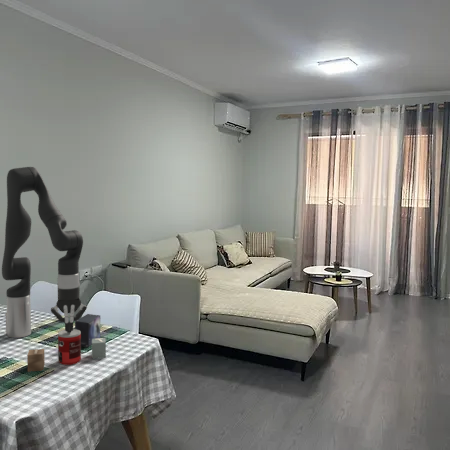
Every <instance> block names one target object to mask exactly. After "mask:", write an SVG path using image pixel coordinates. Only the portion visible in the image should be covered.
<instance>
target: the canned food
mask: <svg viewBox="0 0 450 450" xmlns="http://www.w3.org/2000/svg"><path fill="white" fill-rule="evenodd" d="M57 346H58V347H57V348H58V350H57V353H58V355H57V356H58V357H57V358H58V362H59V364H61V365H65V366H72V365H76V364H79V363H80V362H81V360H82V359H81V358H82V347H81V331H80V330H77V329H75V328H73V331H71V333H67V331H65V329H63V330H60V331H59V332H58V333H57Z"/></svg>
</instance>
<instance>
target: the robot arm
mask: <svg viewBox="0 0 450 450" xmlns="http://www.w3.org/2000/svg"><path fill="white" fill-rule="evenodd" d="M27 192H34V193H36V195H37V197H38V205H37V208H38V209H37V210H38V211H37V212H38V215H39V219H40V220H41V221H42V224H43V225H44V226H45V227H46V229H47V231H48V234H49V238H50V241H51V244H52V246H53V248H54V249H55V250H56V251H59V252H66V254H65V255H64V256H62V257H60V258H59V259H58V263H57V272H58V273H57V302H56V304H55V306H53V307H50V312H51V313H52V314H53V315H54V316H55V318H57V320H58V321H59V322H61V323H64V330H65V331H67V333H71V331H73V329H74V323H75V321H77V320H78V319H80V318H81V317H83V316H82V315H83V314H84V313H85V312H86V311H87V308H88V306H87V305H86V304H83V303H82V300H81V298H80V297H81V296H80V295H81V294H80V284H81V283H80V272H79V262H80V258H81V256H82V255H81V254H82V250H83V245H84V239H83V238H84V237H83V235H82V233H81V232H80V231H78V230H75V229H74V230H66V231H64V229H65V228H66V227H67V219H66V218H65V216H63V214H62V213H61V210H60V209H58V207H57V205H56V204H55V202H54V199H53V198H52V195H51V194H50V191H49V190H48V187H47V185H46V183H45V181H44V179H43V176H42V175H41V173H40V171H39V170H38V169H37V168H36V167H34V166H25V167H24V166H23V167H15V168H11V169H9V170H8V172H7V175H6V197H7V202H6V203H7V205H6V220H5V229H4V230H5V233H4V235H5V236H4V238H5V239H4V250H3V257H2V264H1V275H2V279H3V280H5V281H18V280H20V281H19V282H18V283H16V284H15V285H13V286H10V287H9V288H7V289H6V293H5V294H6V313H5V314H4V315H5V335H6V336H7V337H8V338H11V339H12V338H13V339H14V338H15V339H17V338H18V339H19V338H24V337H28V336H30V335H31V334H32V319H31V318H32V315H31V314H32V312H31V311H32V310H31V309H32V308H31V307H32V305H31V304H32V303H31V273H32V265H31V264H32V263H31V260H30V258H29V257H26V256H25V257H24V256H21V257H15V255H16V254H17V252H18V250H19V249H20V248H21V247H23V245H24V244H25V243H26V242H27V241H28V239H29V238H30V236H31V232H32V218H31V216H30V213H28V211H27V210H26V208H25V207H24V206H23V204H22V201H21V195H22V193H27ZM78 309H79V311H78V312H77V310H78ZM59 310H60V312H61V313H62V314H64V317H63V316H62V315H61V314H60V312H59ZM76 312H77V313H76ZM75 313H76V314H75Z"/></svg>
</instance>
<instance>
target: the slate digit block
mask: <svg viewBox="0 0 450 450" xmlns="http://www.w3.org/2000/svg"><path fill="white" fill-rule="evenodd" d="M106 342H107V338H106V337H100V338H97V339H92V345H91V359H94V360H95V359H105V358H107V350H106V349H107V348H106V347H107V343H106Z"/></svg>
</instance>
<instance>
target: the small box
mask: <svg viewBox="0 0 450 450" xmlns="http://www.w3.org/2000/svg"><path fill="white" fill-rule="evenodd" d="M74 329H77V330H80V331H81V348H89V347H92V339H97V338H101V315H99V314H93V313H91V314H90V313H87V314H85V315H83V316H81V317H80V318H79V319H78V320H77V321H74Z"/></svg>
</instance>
